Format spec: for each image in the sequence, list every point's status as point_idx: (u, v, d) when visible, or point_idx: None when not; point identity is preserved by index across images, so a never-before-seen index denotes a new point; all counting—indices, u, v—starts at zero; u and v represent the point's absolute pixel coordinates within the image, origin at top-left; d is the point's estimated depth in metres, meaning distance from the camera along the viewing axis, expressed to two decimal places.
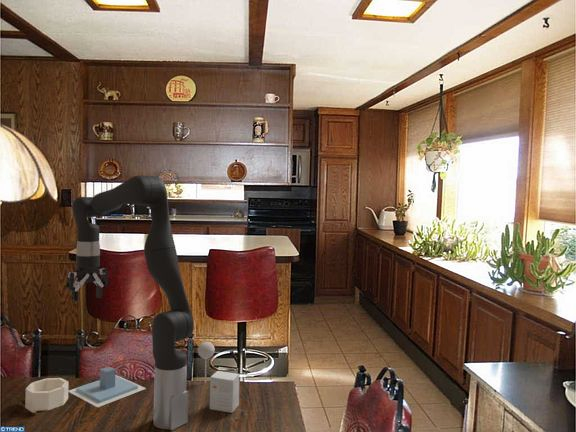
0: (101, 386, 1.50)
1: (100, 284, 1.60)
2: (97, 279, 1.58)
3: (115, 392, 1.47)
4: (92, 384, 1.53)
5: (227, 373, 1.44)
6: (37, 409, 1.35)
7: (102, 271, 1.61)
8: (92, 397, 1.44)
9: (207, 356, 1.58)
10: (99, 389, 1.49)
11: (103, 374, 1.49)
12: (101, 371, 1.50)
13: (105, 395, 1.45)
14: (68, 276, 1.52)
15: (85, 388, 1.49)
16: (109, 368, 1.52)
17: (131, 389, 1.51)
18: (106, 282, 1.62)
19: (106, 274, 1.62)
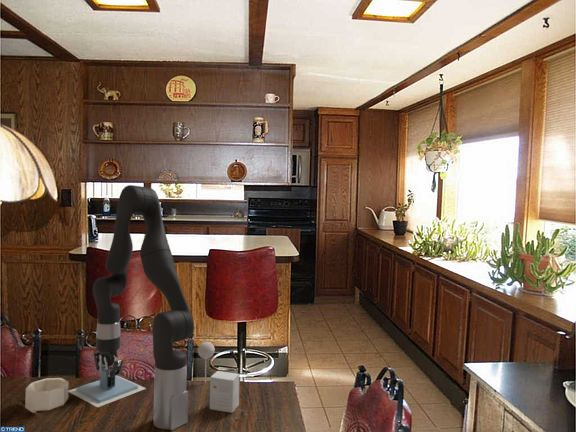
0: (101, 386, 1.50)
1: None
2: None
3: (115, 392, 1.47)
4: (92, 384, 1.53)
5: (227, 373, 1.44)
6: (37, 409, 1.35)
7: None
8: (92, 397, 1.44)
9: (207, 356, 1.58)
10: (99, 389, 1.49)
11: (103, 374, 1.49)
12: (101, 371, 1.50)
13: (105, 395, 1.45)
14: (118, 365, 1.47)
15: (85, 388, 1.49)
16: None
17: (131, 389, 1.51)
18: None
19: None
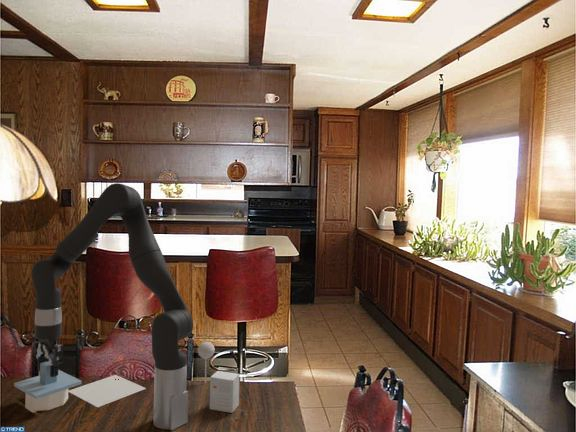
0: (41, 381, 1.40)
1: None
2: None
3: (55, 387, 1.37)
4: (33, 379, 1.42)
5: (227, 373, 1.44)
6: (37, 409, 1.35)
7: None
8: (29, 393, 1.34)
9: (207, 356, 1.58)
10: (38, 384, 1.39)
11: (43, 368, 1.39)
12: (41, 365, 1.40)
13: (44, 390, 1.35)
14: (58, 349, 1.36)
15: (23, 384, 1.39)
16: None
17: (74, 384, 1.40)
18: None
19: None
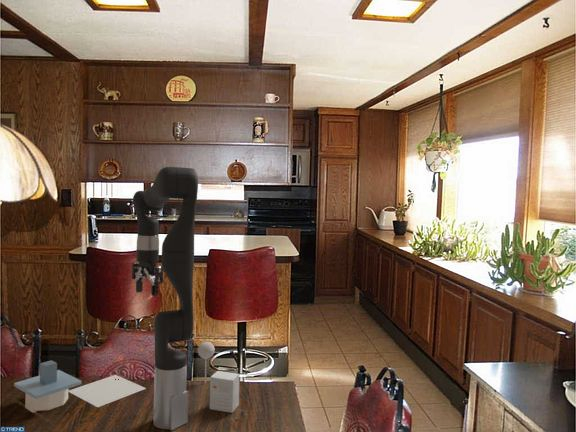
0: (41, 381, 1.40)
1: None
2: None
3: (55, 387, 1.37)
4: (33, 379, 1.42)
5: (227, 373, 1.44)
6: (37, 409, 1.35)
7: None
8: (29, 393, 1.34)
9: (207, 356, 1.58)
10: (38, 384, 1.39)
11: (43, 368, 1.39)
12: (41, 365, 1.40)
13: (44, 390, 1.35)
14: (159, 270, 1.53)
15: (23, 384, 1.39)
16: (50, 362, 1.41)
17: (74, 384, 1.40)
18: None
19: None
